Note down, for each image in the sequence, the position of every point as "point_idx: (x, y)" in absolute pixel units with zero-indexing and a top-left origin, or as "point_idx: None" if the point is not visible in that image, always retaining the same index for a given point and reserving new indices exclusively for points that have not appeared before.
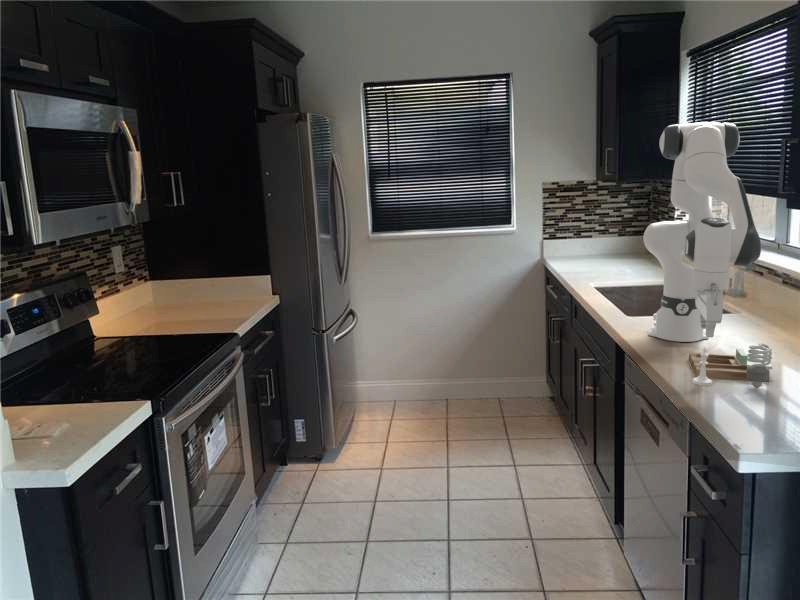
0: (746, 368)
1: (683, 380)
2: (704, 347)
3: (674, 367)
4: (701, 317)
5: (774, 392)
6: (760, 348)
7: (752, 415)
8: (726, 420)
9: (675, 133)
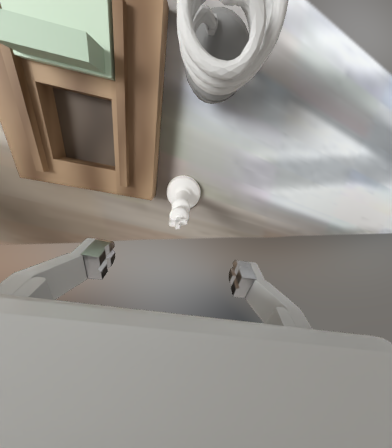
0: (126, 62)
1: None
2: (179, 228)
3: (98, 212)
4: (62, 289)
5: None
6: None
7: (352, 166)
8: (351, 213)
9: None
